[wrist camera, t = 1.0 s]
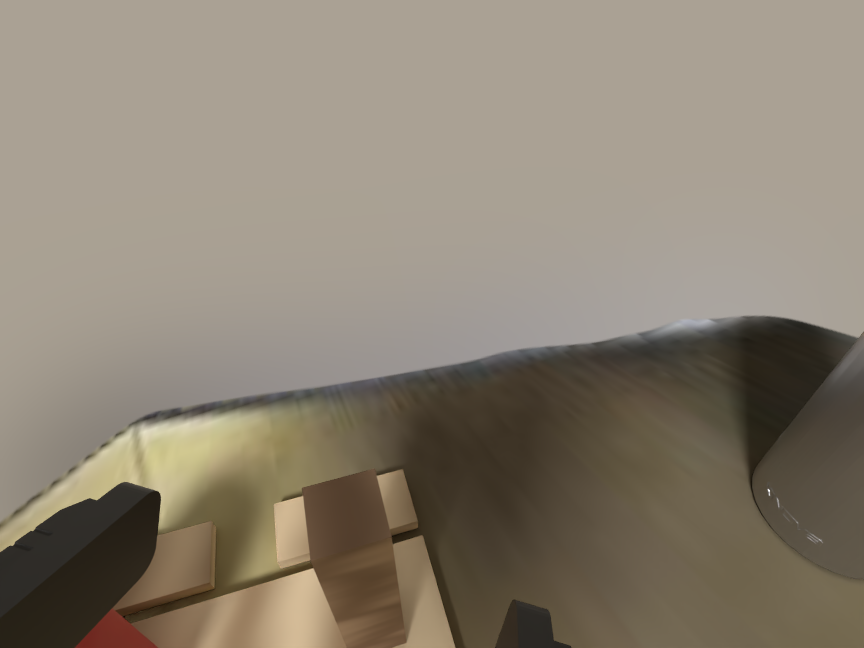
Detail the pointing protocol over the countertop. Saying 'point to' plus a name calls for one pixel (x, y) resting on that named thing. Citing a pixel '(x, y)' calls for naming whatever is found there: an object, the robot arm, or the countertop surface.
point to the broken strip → (196, 548)
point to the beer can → (115, 634)
